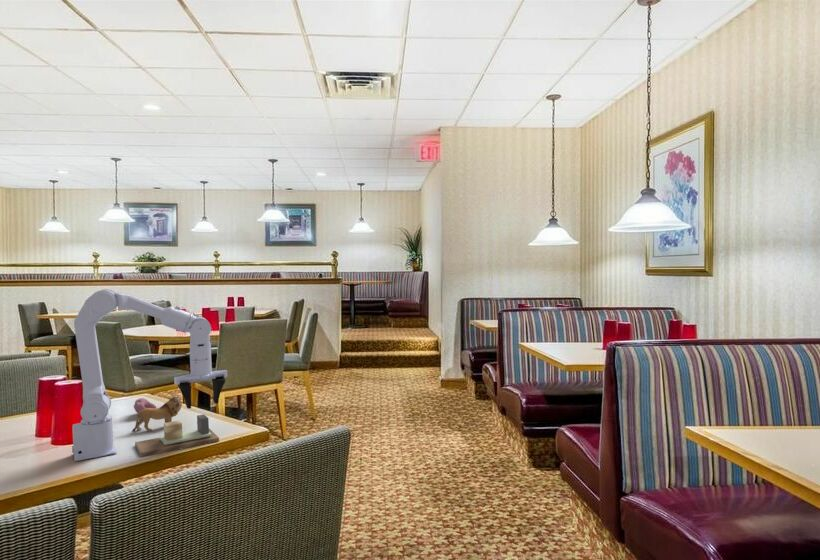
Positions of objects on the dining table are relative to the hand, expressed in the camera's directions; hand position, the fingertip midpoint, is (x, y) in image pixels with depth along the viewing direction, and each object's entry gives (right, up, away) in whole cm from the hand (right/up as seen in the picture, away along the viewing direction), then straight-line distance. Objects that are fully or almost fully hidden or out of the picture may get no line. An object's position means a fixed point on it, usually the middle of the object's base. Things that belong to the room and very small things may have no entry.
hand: (202, 405), depth 155 cm
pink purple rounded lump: (-30, -10, +26) cm, 41 cm away
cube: (-6, -8, -5) cm, 11 cm away
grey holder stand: (-4, -8, -3) cm, 10 cm away
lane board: (-5, -10, -4) cm, 12 cm away
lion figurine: (-18, -10, +11) cm, 23 cm away
